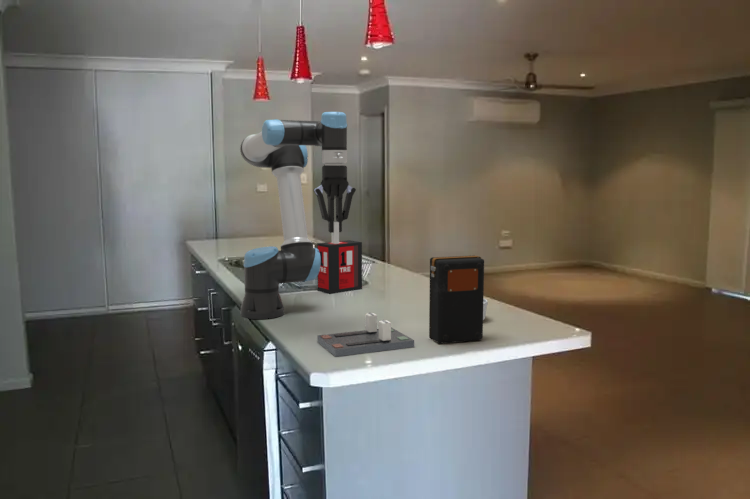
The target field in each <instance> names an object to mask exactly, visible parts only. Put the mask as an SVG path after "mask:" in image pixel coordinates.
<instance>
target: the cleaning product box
mask: <svg viewBox="0 0 750 499" xmlns="http://www.w3.org/2000/svg"><path fill="white" fill-rule="evenodd" d="M316 248H317V249H318V250H319V253H320V256H321V265H320V271H319V274H318V276H317V277H316V278H317V291H318V292H322V293H325V294H327V295H328V294H329V295H332V294H339V293H346V292H352V291H359V290H363V242H362V241H358V240H349V239H348V240H339V244H333V243H332V241H328V242H317V243H316Z"/></svg>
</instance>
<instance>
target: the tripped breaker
mask: <svg viewBox="0 0 750 499" xmlns="http://www.w3.org/2000/svg"><path fill="white" fill-rule="evenodd" d="M391 327H392V322H391V321H389V320H387V319H382V320H379V321H378V329H379V339H381V340H383V341H385V340H391Z"/></svg>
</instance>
